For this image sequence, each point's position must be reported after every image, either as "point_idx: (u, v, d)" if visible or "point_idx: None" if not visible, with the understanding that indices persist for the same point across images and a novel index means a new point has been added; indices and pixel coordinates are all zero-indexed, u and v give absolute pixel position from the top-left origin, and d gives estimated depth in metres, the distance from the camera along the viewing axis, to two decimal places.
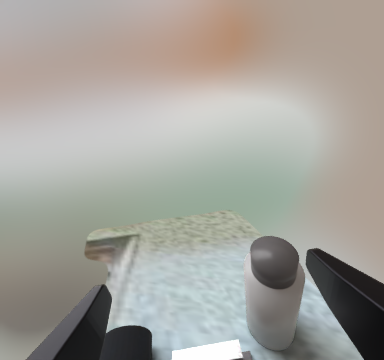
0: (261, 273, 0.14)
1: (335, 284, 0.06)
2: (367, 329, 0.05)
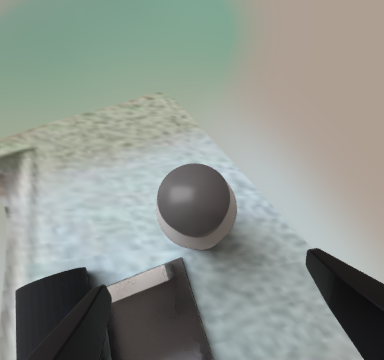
0: (174, 229, 0.09)
1: (335, 284, 0.06)
2: (367, 329, 0.05)
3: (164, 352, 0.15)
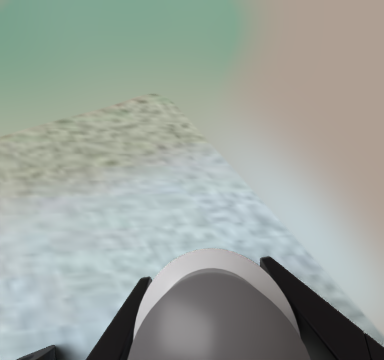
0: None
1: None
2: None
3: None
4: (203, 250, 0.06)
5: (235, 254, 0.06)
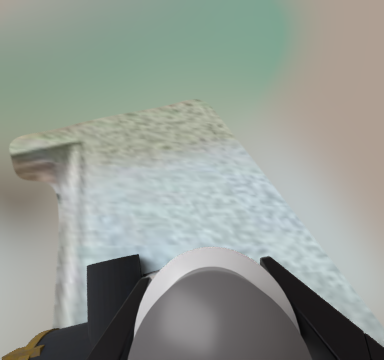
0: None
1: None
2: None
3: None
4: (203, 249, 0.06)
5: (235, 253, 0.06)
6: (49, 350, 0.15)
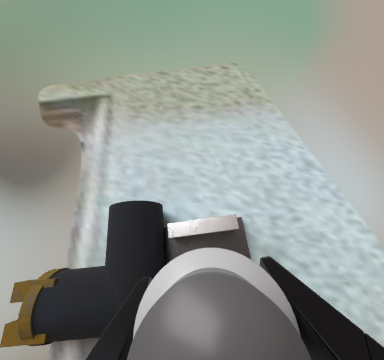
0: None
1: None
2: None
3: None
4: (203, 249, 0.06)
5: (235, 253, 0.06)
6: (63, 283, 0.14)
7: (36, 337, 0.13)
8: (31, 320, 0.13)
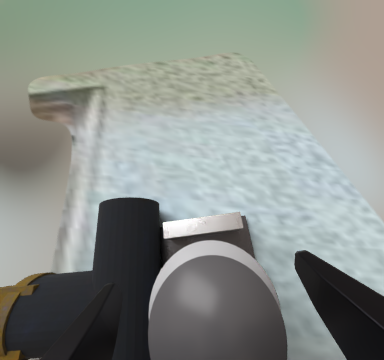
0: None
1: (321, 286, 0.06)
2: (350, 332, 0.05)
3: None
4: (204, 242, 0.07)
5: (230, 245, 0.07)
6: (44, 290, 0.12)
7: (9, 354, 0.11)
8: (3, 334, 0.11)
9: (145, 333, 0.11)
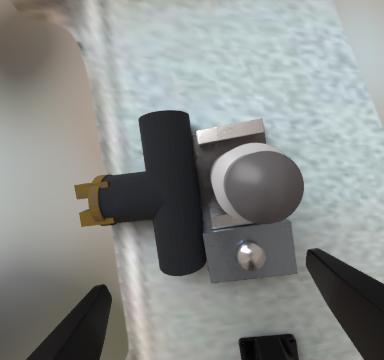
0: None
1: (335, 284, 0.06)
2: (367, 329, 0.05)
3: None
4: (248, 144, 0.10)
5: (267, 145, 0.10)
6: (115, 184, 0.17)
7: (106, 220, 0.17)
8: (99, 209, 0.17)
9: (192, 206, 0.17)
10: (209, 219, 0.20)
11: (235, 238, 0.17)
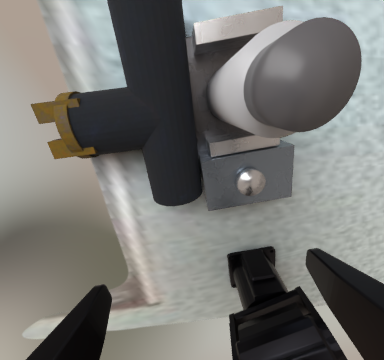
0: (268, 123, 0.08)
1: (335, 284, 0.06)
2: (367, 329, 0.05)
3: None
4: (284, 22, 0.07)
5: None
6: (89, 103, 0.13)
7: (85, 149, 0.14)
8: (74, 136, 0.13)
9: (189, 130, 0.14)
10: (204, 149, 0.18)
11: (235, 165, 0.16)
